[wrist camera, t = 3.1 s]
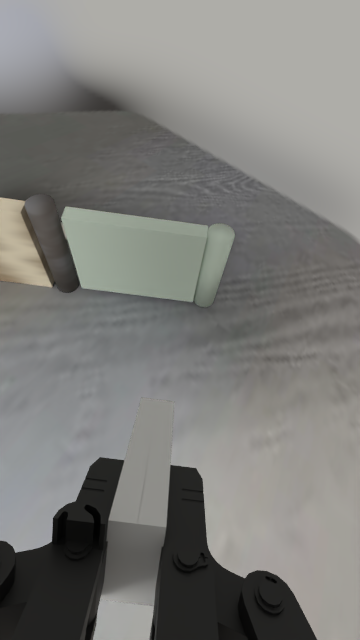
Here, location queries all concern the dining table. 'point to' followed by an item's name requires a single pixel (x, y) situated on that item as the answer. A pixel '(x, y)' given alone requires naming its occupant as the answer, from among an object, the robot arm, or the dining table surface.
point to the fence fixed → (34, 244)
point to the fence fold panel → (147, 255)
